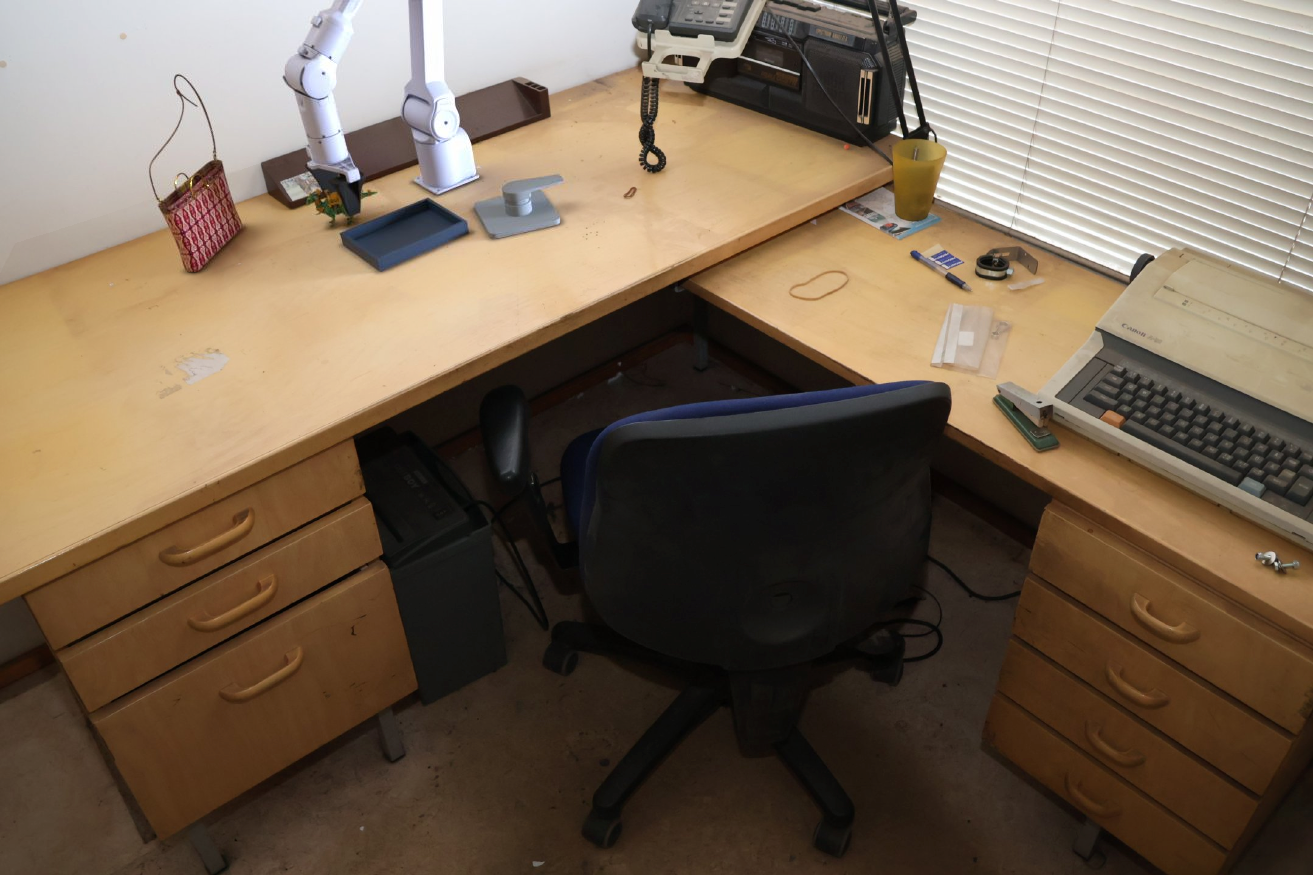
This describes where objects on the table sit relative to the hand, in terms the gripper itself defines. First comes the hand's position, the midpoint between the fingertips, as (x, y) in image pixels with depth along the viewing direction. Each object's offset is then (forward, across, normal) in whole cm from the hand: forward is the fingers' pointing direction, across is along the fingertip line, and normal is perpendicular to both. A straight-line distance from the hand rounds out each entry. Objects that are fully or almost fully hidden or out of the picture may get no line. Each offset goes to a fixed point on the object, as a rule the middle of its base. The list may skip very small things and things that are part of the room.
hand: (344, 207), depth 172 cm
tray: (+3, +12, +4) cm, 13 cm away
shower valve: (+3, +20, +23) cm, 31 cm away
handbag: (+3, -11, -20) cm, 23 cm away
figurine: (+3, 0, 0) cm, 3 cm away
